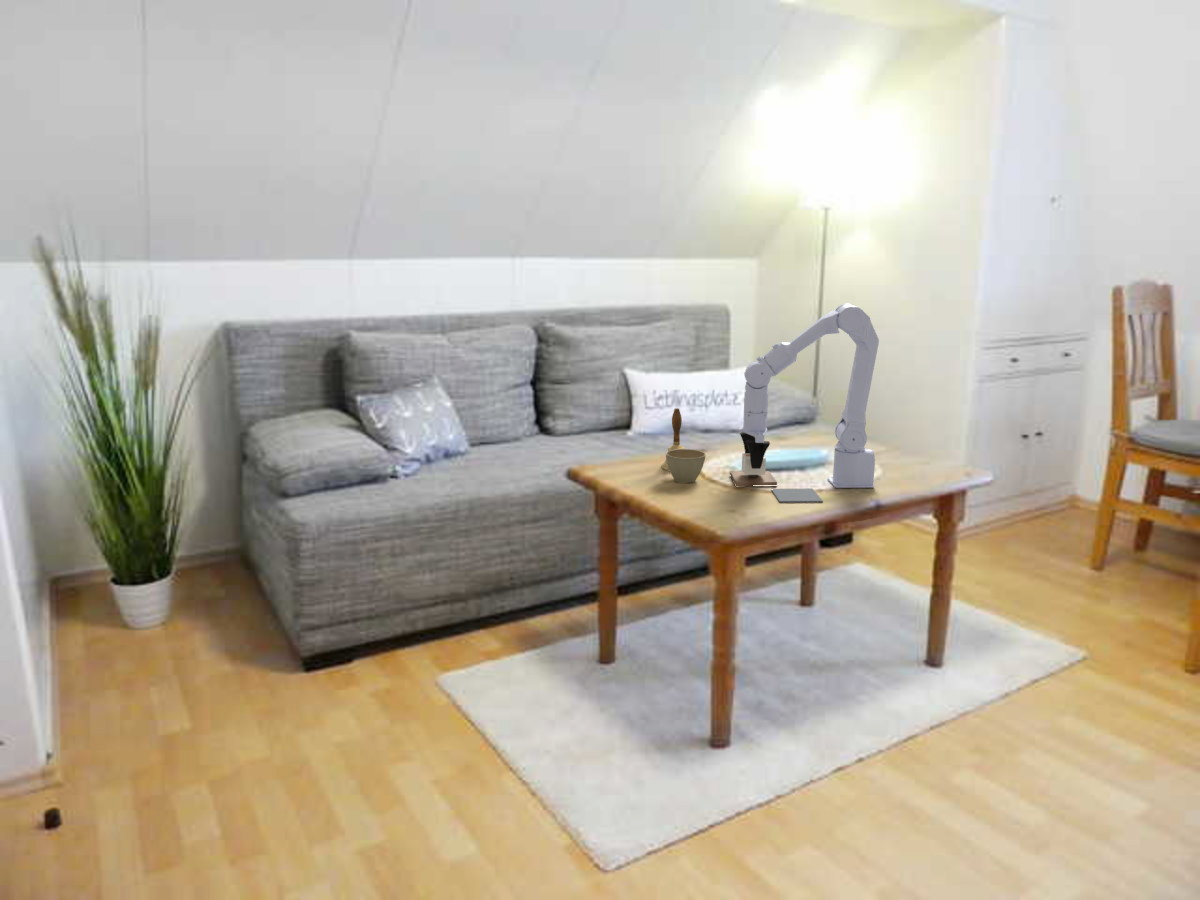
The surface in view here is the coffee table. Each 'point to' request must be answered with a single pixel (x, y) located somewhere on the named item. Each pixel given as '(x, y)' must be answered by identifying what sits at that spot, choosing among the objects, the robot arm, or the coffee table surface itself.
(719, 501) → the coffee table surface
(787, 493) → the mat
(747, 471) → the cream cube
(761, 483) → the post stand
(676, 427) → the hand bell
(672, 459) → the flower pot
